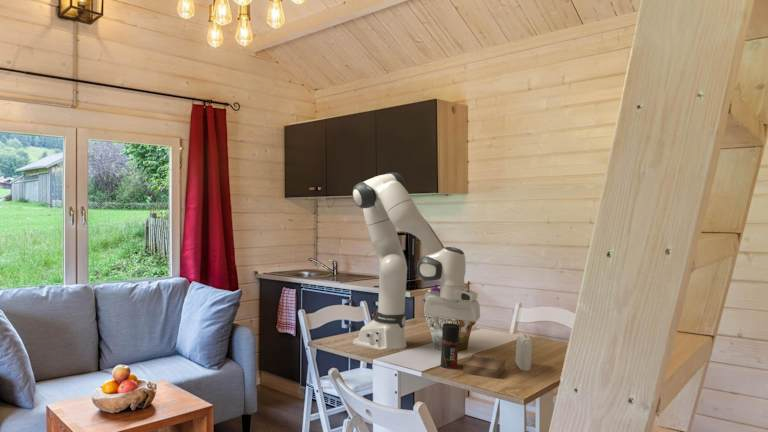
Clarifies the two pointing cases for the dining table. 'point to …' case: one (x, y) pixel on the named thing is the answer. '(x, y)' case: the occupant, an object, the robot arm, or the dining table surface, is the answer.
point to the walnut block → (484, 367)
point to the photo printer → (523, 352)
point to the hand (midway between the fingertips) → (450, 330)
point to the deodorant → (449, 345)
